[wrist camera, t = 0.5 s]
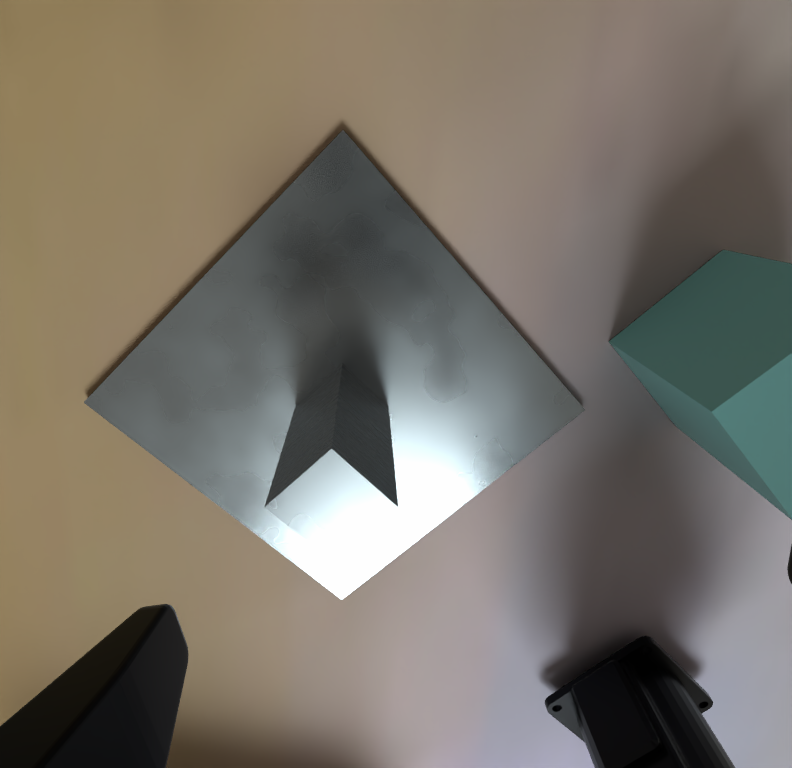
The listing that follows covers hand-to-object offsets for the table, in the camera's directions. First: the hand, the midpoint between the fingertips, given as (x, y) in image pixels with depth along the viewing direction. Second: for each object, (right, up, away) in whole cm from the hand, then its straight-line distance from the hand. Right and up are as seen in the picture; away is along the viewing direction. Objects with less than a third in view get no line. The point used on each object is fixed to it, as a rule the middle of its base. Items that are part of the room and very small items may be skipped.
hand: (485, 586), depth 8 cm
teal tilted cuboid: (+11, +4, +13) cm, 18 cm away
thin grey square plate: (-3, +2, +13) cm, 14 cm away
